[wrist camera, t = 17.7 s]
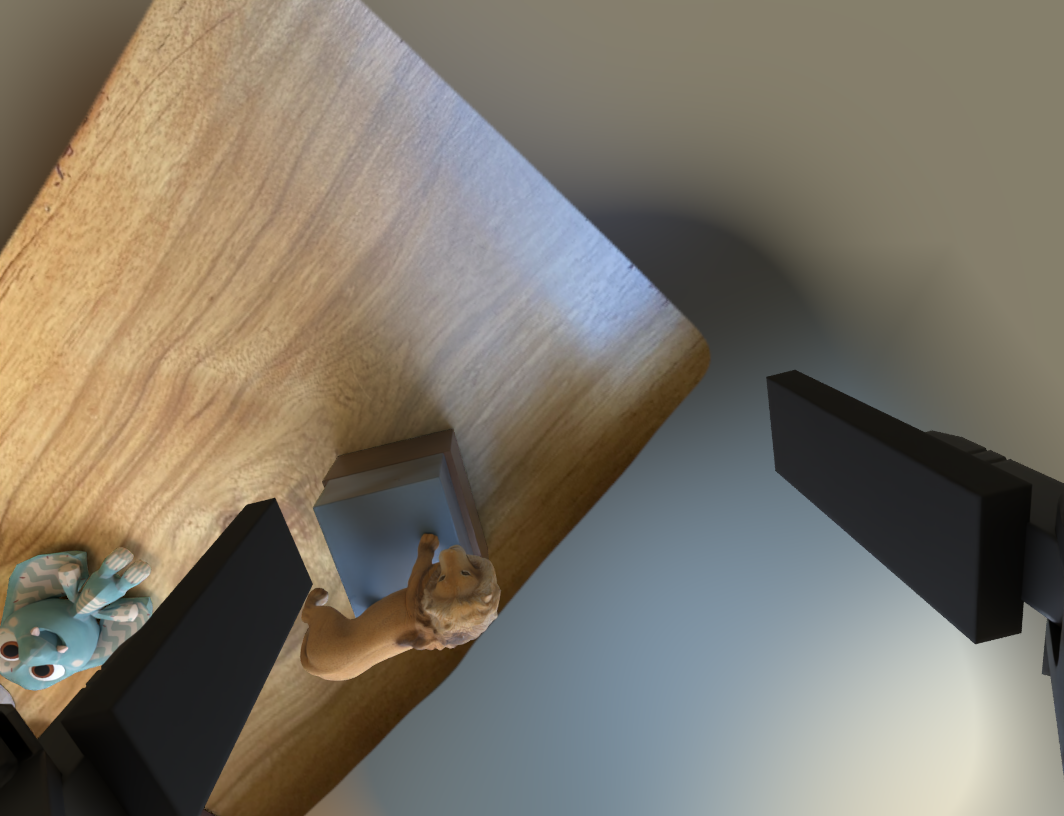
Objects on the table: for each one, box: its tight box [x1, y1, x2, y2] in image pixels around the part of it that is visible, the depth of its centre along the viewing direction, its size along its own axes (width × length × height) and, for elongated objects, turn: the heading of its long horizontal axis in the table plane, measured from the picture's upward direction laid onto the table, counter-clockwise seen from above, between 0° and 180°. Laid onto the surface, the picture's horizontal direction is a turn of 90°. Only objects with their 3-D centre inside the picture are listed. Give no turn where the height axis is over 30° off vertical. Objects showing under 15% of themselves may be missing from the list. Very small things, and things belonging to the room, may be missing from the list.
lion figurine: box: [300, 533, 501, 680], centre depth 32 cm, size 15×5×9 cm, turn 124°
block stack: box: [313, 429, 488, 618], centre depth 40 cm, size 9×11×8 cm
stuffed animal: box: [0, 547, 152, 690], centre depth 41 cm, size 11×7×12 cm
